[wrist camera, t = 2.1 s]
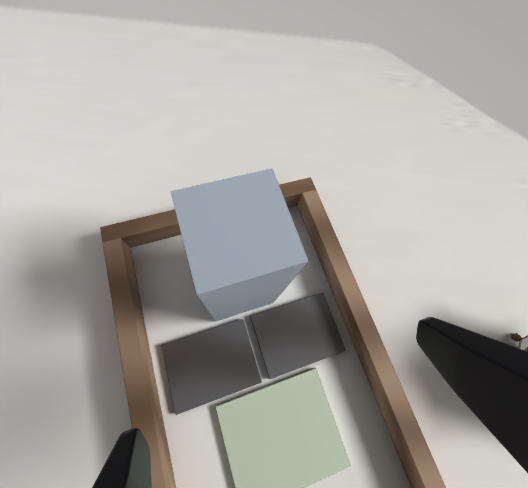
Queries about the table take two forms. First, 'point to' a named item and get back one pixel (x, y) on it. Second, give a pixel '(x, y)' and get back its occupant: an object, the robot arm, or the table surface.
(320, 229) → the frame
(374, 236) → the table surface
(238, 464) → the pad
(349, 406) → the table surface
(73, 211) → the table surface
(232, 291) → the slate-blue block
